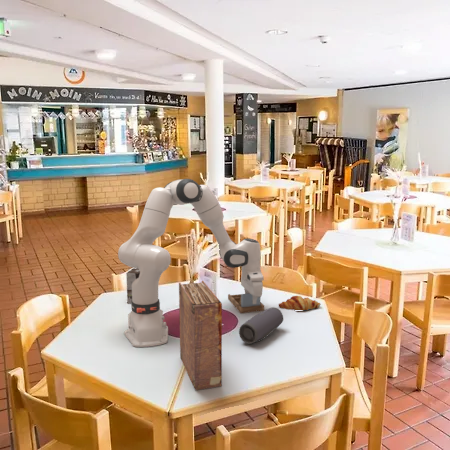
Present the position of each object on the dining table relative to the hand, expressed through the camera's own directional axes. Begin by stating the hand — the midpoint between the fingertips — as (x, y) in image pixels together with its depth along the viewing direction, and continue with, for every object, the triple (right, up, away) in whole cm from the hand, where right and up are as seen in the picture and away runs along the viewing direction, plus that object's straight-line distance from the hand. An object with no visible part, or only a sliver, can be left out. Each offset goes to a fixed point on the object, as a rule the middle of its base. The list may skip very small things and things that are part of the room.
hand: (250, 300), depth 223 cm
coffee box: (-58, -3, +16) cm, 60 cm away
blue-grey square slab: (0, -5, +1) cm, 5 cm away
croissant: (+24, -5, +5) cm, 25 cm away
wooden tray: (-2, -4, +8) cm, 10 cm away
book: (-21, -17, -55) cm, 61 cm away
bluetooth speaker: (+3, -11, -26) cm, 29 cm away
